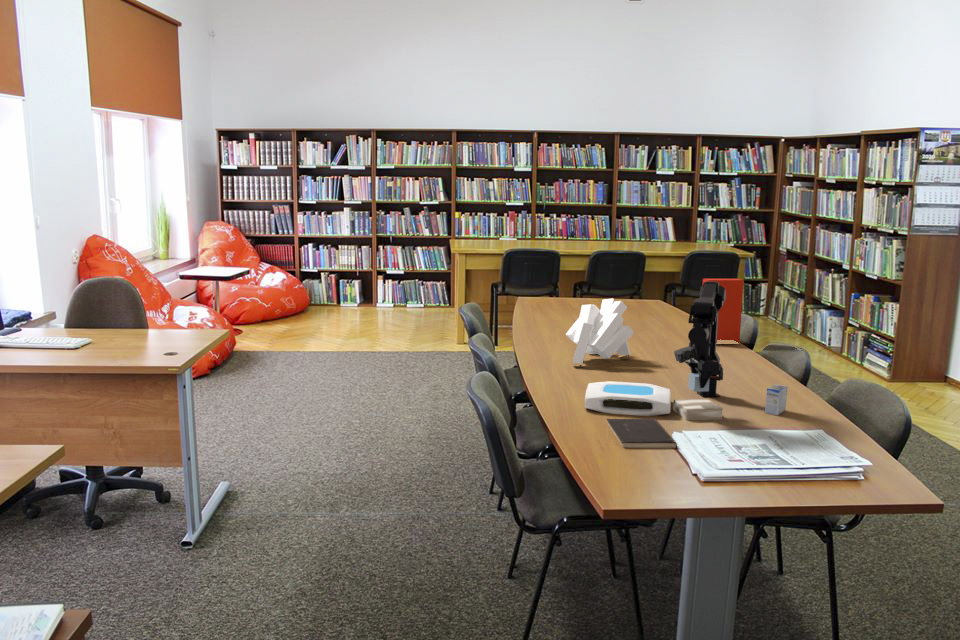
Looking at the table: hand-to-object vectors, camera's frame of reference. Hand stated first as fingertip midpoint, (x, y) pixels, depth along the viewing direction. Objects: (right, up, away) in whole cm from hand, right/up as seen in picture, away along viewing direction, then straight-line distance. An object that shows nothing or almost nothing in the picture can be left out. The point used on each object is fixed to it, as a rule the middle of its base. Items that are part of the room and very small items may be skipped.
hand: (698, 385), depth 251 cm
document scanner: (-21, -8, +11) cm, 25 cm away
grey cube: (0, -1, 0) cm, 1 cm away
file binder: (+46, +10, +125) cm, 133 cm away
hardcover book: (-24, -14, -21) cm, 35 cm away
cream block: (0, -10, +2) cm, 10 cm away
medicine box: (+28, -10, +6) cm, 30 cm away
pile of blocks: (-20, +4, +83) cm, 86 cm away
